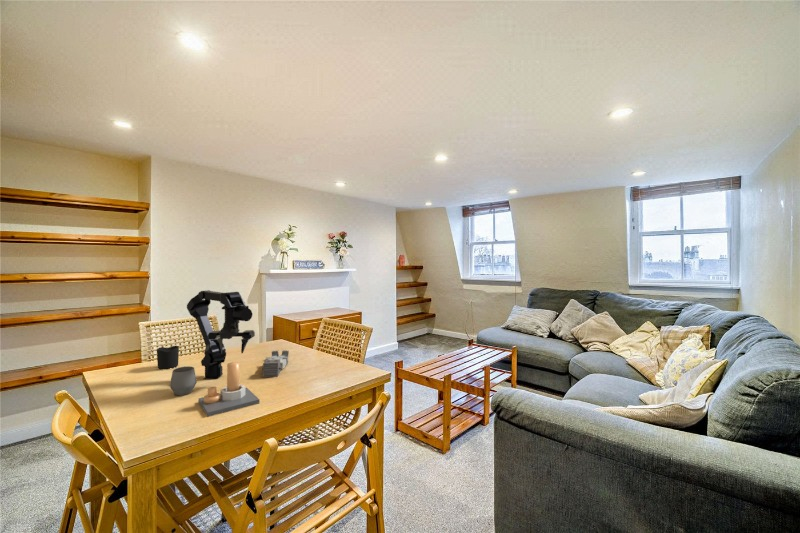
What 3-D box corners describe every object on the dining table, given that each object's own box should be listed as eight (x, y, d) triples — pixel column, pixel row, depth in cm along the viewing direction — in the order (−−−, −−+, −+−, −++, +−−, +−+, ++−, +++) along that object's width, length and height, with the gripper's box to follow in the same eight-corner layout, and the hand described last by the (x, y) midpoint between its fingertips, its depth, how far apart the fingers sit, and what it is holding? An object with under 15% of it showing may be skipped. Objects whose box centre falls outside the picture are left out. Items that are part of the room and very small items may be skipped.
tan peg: (224, 396, 136) (224, 364, 136) (234, 393, 140) (234, 361, 140) (232, 399, 134) (232, 366, 134) (241, 395, 138) (242, 363, 138)
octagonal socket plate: (198, 402, 134) (198, 385, 134) (246, 390, 146) (246, 375, 146) (207, 416, 122) (207, 398, 122) (259, 403, 134) (259, 386, 134)
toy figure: (291, 348, 194) (282, 362, 164) (291, 360, 194) (282, 376, 164) (269, 349, 192) (257, 363, 162) (269, 361, 192) (257, 377, 162)
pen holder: (167, 363, 181) (167, 345, 181) (183, 364, 180) (183, 346, 180) (152, 369, 172) (152, 349, 172) (168, 370, 171) (168, 350, 171)
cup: (172, 390, 146) (172, 367, 146) (198, 387, 149) (198, 364, 149) (167, 398, 137) (167, 374, 137) (194, 395, 141) (194, 371, 140)
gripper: (201, 323, 147) (202, 359, 147) (247, 322, 149) (247, 357, 149) (213, 318, 158) (213, 352, 158) (255, 318, 160) (255, 351, 161)
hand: (231, 353), depth 156 cm, fingers open, 9 cm apart
